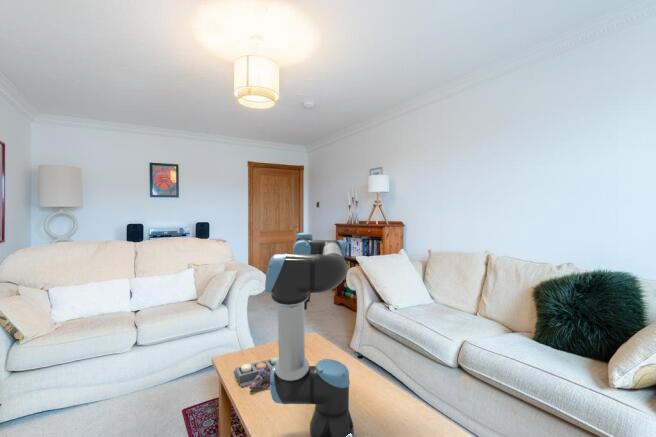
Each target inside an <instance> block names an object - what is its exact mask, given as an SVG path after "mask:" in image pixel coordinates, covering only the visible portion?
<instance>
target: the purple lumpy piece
mask: <svg viewBox="0 0 656 437" xmlns="http://www.w3.org/2000/svg"><path fill="white" fill-rule="evenodd" d="M271 370H272V368H271V367H266V368H263V369H261V370H260V371H259V373H258V375H257V376H256V377H255V379H254V381H253V382H252V384H251V385H250V386H249V389H250V390H251V391H253V392H254V393H255V391H261V390H262V389H265V388H266V387H268V386H270V375H271ZM264 384H265V385H264Z"/></svg>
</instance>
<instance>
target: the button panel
mask: <svg viewBox="0 0 656 437" xmlns="http://www.w3.org/2000/svg"><path fill="white" fill-rule="evenodd" d="M258 363H265V364H266V367H271V368H273V366H272V365H271V358H268V359H266V360H262V361H261V360H260V361H258V362H253V363H249V364H250V365H251V372H248V373H244V374H242V373H241V366H238V367H235V368H234V370H233V374H234V376H235V378H236V381H237V382H238V385H239V387H240V388H241V389H242V388H246V387H250V385H251V384H252V382H253V381H254V379H255V377H256V376H257V375H258V373H259V371H260V370H261V369H259V370H257V369H256V365H257V364H258Z"/></svg>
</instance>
